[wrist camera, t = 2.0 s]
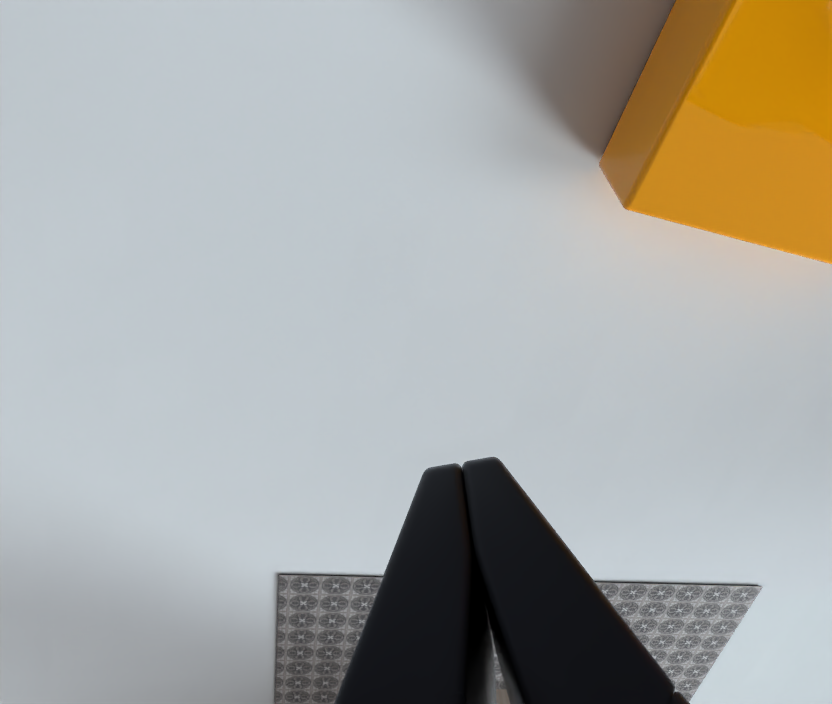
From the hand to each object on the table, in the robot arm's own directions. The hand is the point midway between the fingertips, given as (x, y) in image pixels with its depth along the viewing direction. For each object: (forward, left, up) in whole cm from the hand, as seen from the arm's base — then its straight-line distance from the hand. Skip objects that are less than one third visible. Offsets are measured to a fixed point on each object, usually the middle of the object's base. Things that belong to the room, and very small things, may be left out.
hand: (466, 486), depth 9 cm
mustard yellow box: (-9, 0, -11) cm, 14 cm away
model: (+3, +29, -11) cm, 31 cm away
